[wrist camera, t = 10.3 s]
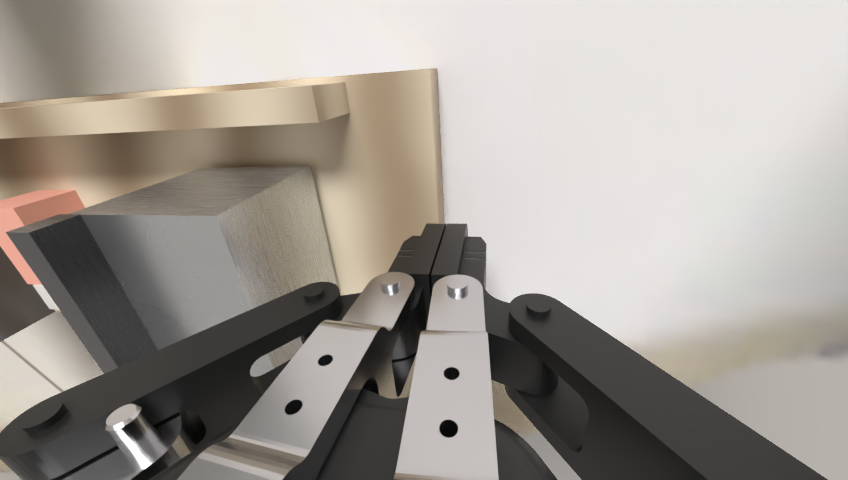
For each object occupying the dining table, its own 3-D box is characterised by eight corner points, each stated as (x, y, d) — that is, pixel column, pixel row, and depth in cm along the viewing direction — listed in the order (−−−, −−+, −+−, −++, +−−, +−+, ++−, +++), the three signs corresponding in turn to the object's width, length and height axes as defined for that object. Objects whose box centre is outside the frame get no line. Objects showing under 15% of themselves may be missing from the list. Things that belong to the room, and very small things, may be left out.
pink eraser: (75, 189, 16) (13, 208, 14) (115, 261, 18) (64, 286, 16) (38, 190, 17) (-28, 208, 15) (80, 259, 19) (27, 284, 16)
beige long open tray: (436, 68, 12) (344, 71, 5) (448, 324, 18) (414, 513, 10) (-82, 110, 18) (-495, 140, 10) (47, 294, 23) (-164, 401, 16)
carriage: (310, 165, 13) (176, 236, 8) (339, 292, 16) (255, 412, 10) (195, 168, 14) (6, 232, 9) (240, 287, 17) (117, 392, 11)
